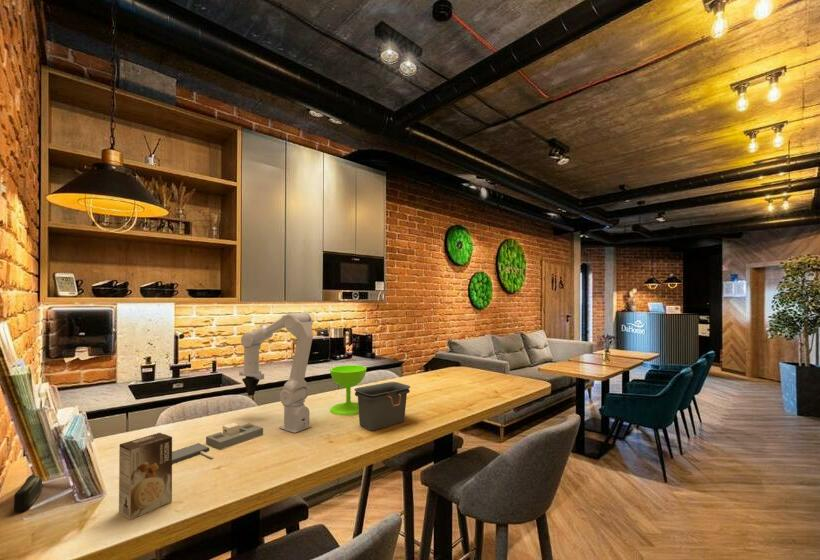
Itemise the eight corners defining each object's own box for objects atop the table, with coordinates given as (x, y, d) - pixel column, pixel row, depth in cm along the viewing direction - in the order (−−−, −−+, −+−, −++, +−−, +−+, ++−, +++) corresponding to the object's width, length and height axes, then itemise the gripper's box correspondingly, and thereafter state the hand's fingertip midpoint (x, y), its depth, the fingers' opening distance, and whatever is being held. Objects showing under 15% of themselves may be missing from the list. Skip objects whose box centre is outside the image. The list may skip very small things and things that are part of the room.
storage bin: (392, 413, 160) (392, 380, 160) (417, 423, 148) (417, 386, 148) (350, 425, 145) (350, 388, 146) (374, 437, 134) (374, 396, 134)
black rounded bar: (10, 515, 87) (33, 488, 100) (28, 511, 88) (49, 485, 101) (11, 493, 87) (34, 469, 100) (29, 489, 89) (49, 466, 101)
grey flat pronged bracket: (220, 456, 118) (220, 452, 118) (176, 472, 108) (176, 468, 108) (198, 446, 126) (198, 442, 126) (155, 460, 115) (155, 456, 115)
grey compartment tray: (263, 434, 136) (263, 427, 137) (220, 449, 123) (220, 442, 123) (248, 429, 141) (248, 422, 142) (205, 443, 128) (206, 436, 128)
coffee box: (159, 494, 96) (161, 431, 96) (172, 501, 92) (173, 436, 93) (117, 512, 88) (118, 443, 89) (129, 521, 85) (131, 449, 85)
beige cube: (239, 437, 134) (239, 424, 134) (228, 441, 131) (228, 428, 131) (233, 435, 136) (233, 422, 136) (222, 438, 133) (222, 425, 133)
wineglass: (350, 417, 155) (350, 374, 155) (322, 411, 163) (322, 370, 164) (373, 407, 168) (373, 367, 169) (346, 402, 177) (346, 364, 177)
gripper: (270, 362, 153) (270, 395, 152) (250, 358, 161) (249, 390, 160) (255, 364, 147) (254, 399, 146) (234, 361, 155) (234, 394, 155)
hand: (251, 395), depth 153 cm, fingers closed
